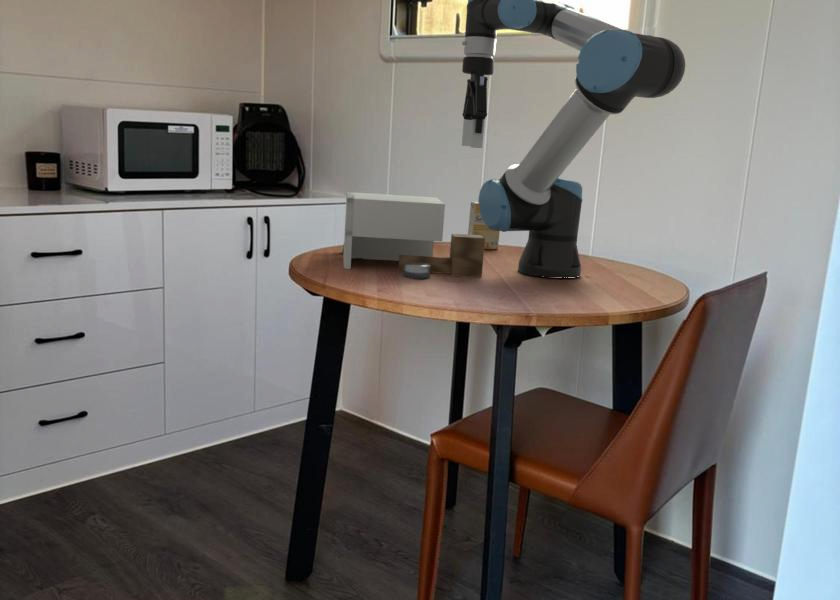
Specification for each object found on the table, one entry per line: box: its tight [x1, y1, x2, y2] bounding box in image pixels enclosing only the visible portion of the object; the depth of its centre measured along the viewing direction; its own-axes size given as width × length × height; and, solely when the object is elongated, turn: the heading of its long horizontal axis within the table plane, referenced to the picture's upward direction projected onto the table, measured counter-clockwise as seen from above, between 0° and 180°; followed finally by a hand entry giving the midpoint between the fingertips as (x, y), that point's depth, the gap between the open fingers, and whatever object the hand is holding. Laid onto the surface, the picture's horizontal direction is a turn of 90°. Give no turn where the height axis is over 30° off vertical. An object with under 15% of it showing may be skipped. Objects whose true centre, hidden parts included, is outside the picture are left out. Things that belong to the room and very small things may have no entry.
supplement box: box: [467, 201, 501, 251], centre depth 227 cm, size 8×5×13 cm, turn 102°
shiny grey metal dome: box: [402, 262, 431, 281], centre depth 177 cm, size 6×6×3 cm
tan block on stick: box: [398, 233, 485, 278], centre depth 183 cm, size 19×5×9 cm, turn 96°
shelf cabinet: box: [342, 191, 446, 270], centre depth 188 cm, size 22×16×16 cm
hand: (471, 147), depth 196 cm, fingers open, 13 cm apart
